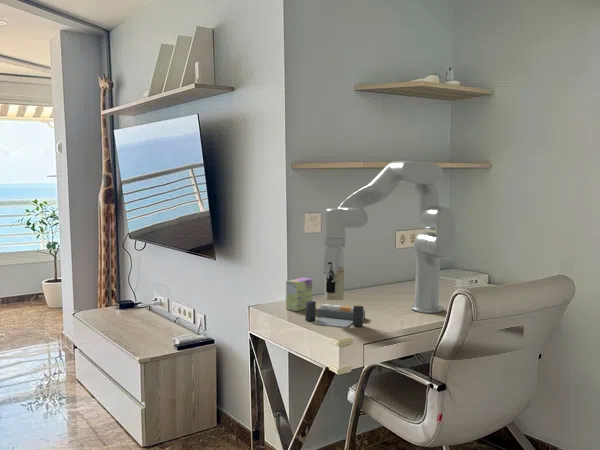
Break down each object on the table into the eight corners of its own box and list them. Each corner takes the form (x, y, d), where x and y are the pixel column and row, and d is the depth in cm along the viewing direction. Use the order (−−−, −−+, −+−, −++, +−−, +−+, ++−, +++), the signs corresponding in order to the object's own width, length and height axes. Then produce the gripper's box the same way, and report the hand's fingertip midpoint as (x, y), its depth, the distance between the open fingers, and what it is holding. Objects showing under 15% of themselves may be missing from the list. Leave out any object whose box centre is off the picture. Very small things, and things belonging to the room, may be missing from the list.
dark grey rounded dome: (307, 318, 209) (307, 300, 209) (316, 319, 208) (316, 301, 208) (304, 320, 206) (304, 302, 205) (313, 322, 205) (314, 303, 204)
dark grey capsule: (353, 324, 202) (354, 305, 202) (363, 325, 201) (364, 306, 201) (351, 326, 199) (352, 307, 198) (361, 327, 198) (362, 308, 197)
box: (301, 305, 232) (301, 277, 231) (312, 307, 228) (312, 278, 227) (285, 309, 224) (285, 280, 223) (296, 311, 220) (296, 282, 219)
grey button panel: (323, 313, 218) (323, 302, 218) (365, 318, 211) (365, 306, 211) (307, 323, 203) (307, 311, 202) (352, 328, 196) (352, 316, 196)
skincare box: (327, 300, 200) (327, 267, 199) (324, 298, 204) (324, 265, 203) (344, 299, 201) (344, 266, 200) (340, 297, 206) (341, 264, 205)
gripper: (333, 239, 211) (332, 285, 212) (316, 244, 195) (315, 294, 196) (352, 240, 208) (351, 287, 209) (336, 245, 192) (335, 296, 193)
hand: (334, 290), depth 203 cm, fingers closed on skincare box, 6 cm apart
